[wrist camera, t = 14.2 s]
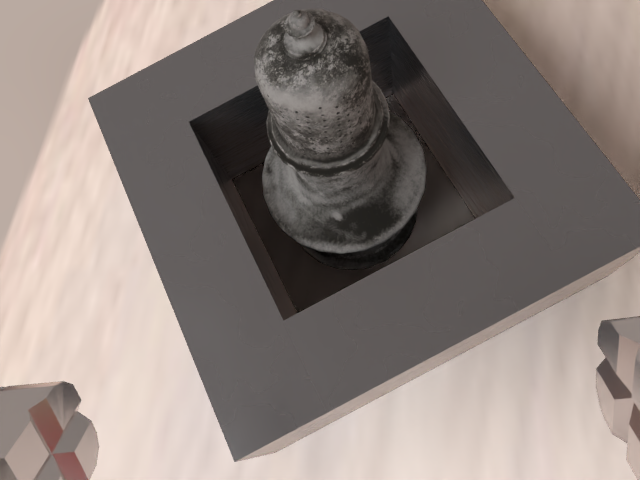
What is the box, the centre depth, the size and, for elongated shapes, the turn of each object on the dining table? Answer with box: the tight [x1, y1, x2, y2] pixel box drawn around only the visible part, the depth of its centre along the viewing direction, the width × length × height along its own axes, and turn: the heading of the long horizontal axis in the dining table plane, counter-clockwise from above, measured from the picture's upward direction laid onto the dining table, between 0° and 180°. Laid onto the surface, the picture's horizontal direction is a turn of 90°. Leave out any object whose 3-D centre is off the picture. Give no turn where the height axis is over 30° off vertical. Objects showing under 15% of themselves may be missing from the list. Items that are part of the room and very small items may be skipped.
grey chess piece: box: [254, 9, 427, 270], centre depth 18 cm, size 6×6×12 cm
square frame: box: [88, 0, 640, 462], centre depth 21 cm, size 14×14×5 cm
